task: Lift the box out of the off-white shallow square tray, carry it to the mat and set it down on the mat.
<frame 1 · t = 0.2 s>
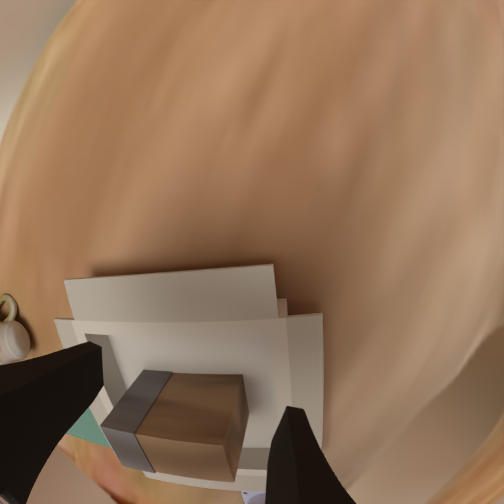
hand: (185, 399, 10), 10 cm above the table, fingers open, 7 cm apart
off-white shallow square tray: (196, 390, 21), on the table
mat: (77, 415, 25), on the table
box: (195, 393, 21), resting on off-white shallow square tray
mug: (12, 329, 24), on the table
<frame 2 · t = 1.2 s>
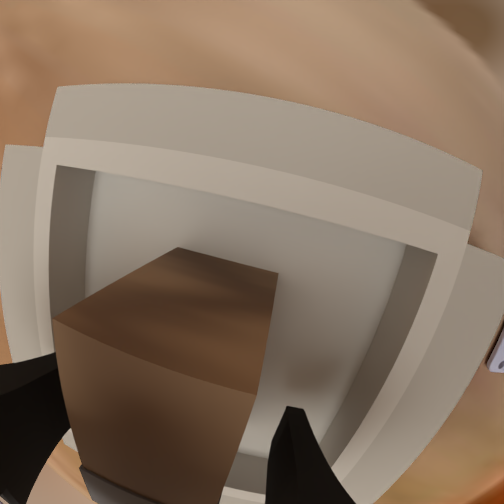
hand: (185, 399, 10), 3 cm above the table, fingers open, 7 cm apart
off-white shallow square tray: (211, 343, 13), on the table
box: (208, 348, 12), resting on off-white shallow square tray
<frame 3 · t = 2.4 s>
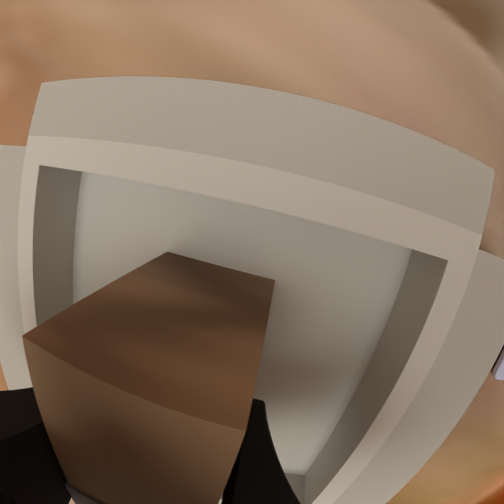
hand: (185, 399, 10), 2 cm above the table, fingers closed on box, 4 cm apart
off-white shallow square tray: (204, 353, 12), on the table
box: (201, 358, 11), resting on off-white shallow square tray, touching gripper
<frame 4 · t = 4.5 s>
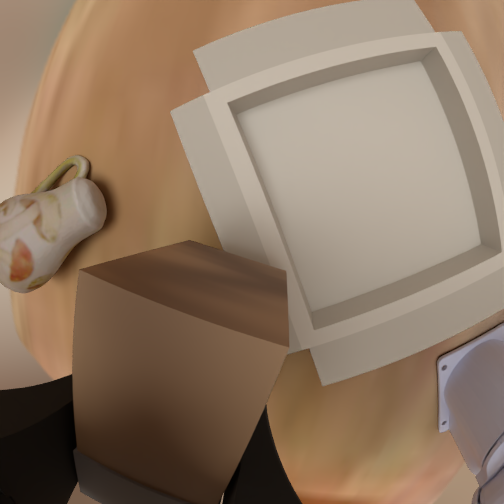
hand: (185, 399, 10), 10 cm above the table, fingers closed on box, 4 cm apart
off-white shallow square tray: (375, 178, 17), on the table
box: (211, 344, 12), point 7 cm above the table, tilted 6°, touching gripper
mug: (70, 218, 20), on the table
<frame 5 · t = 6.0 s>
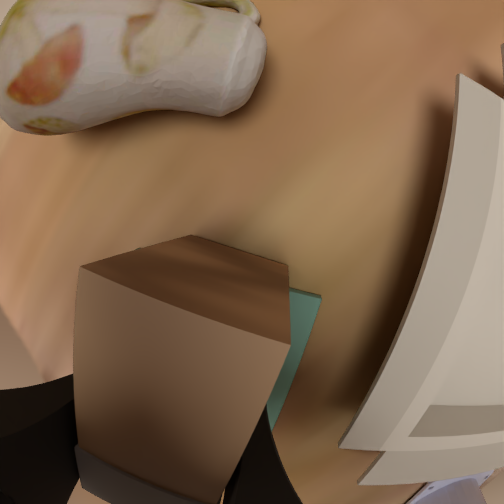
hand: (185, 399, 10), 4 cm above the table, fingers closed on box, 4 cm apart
mat: (209, 351, 13), on the table
box: (212, 339, 12), point 1 cm above the table, touching gripper, mat
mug: (163, 68, 11), on the table
when the fingers open (3 cm above the table, at t = 6.9 s): box stays where it is, resting on mat.
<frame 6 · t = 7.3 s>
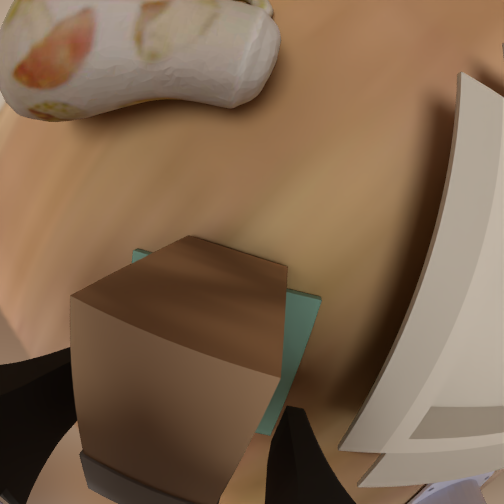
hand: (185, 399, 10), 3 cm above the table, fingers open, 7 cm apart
mat: (208, 353, 13), on the table
box: (212, 338, 12), resting on mat
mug: (172, 58, 11), on the table
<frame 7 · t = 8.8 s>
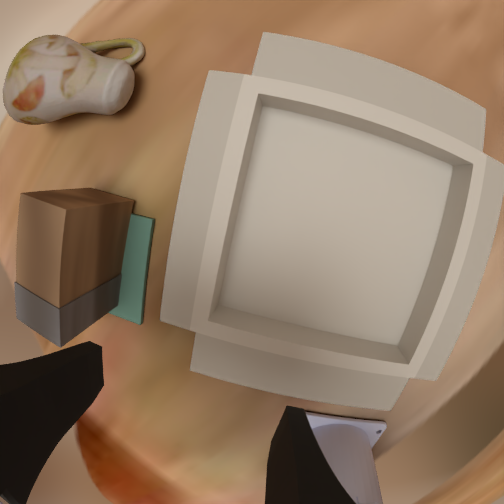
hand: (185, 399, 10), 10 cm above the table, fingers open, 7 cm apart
off-white shallow square tray: (341, 233, 18), on the table
mat: (102, 259, 21), on the table
box: (102, 247, 20), resting on mat
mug: (96, 86, 18), on the table
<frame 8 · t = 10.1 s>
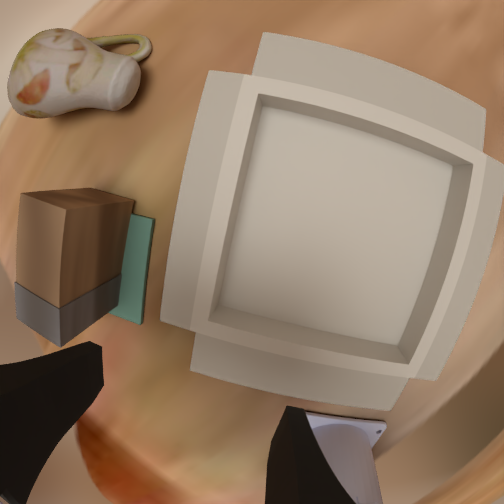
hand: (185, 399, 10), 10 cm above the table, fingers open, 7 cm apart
off-white shallow square tray: (341, 233, 18), on the table
mat: (102, 259, 21), on the table
box: (102, 247, 20), resting on mat
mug: (101, 81, 18), on the table
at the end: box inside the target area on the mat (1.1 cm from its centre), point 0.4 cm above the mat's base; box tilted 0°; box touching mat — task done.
